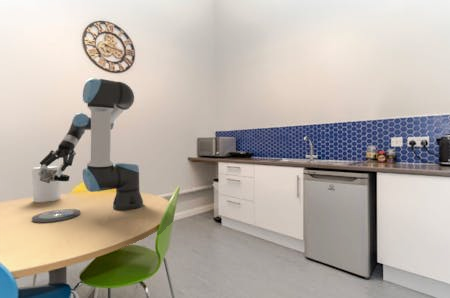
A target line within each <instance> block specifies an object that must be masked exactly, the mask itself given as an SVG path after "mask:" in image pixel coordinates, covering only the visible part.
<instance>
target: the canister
mask: <svg viewBox="0 0 450 298" xmlns="http://www.w3.org/2000/svg"><path fill="white" fill-rule="evenodd" d="M47 167H48V168H47V169H48V170H58V169H59V167H60V165H58V166H57V165H48V166H47ZM40 168H41V166H35V167H32V169H31V175H32V193H33V194H32V195H33V197H32V199H33V202H34V203H45V202H52V201H57V200H60V199H61V185H60V182H61V181H50V183H46V182H43V181H40V177H39V176H38V175H37V173H38V172H39V169H40Z"/></svg>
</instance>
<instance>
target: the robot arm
mask: <svg viewBox="0 0 450 298" xmlns="http://www.w3.org/2000/svg"><path fill="white" fill-rule="evenodd" d="M82 101H83V103H85V104H86V105H87V108H88V109H89V110H90V116H88V115H87V114H85V113H83V112H79V113H76V114H75V115H74V116H73V118H72V121H71V125H70V127H69V130H68V131H67V133H66V135H65V136H64V137H63V139H62V140H61V141H60V143H59V144H58V147H57V148H58V149H56V150H52V149H51V150H50V151H49V153H48V154H47V155H46V156H45V157H44V158H43V159H42V160H41V161H40V162H39V165H41V166H40V167H41V168H40V169H39V172H38V173H37V175H38V176H39V177H41V173H42V169H43V168H44V169H47V168H48V167H47V166H51V164H52V163H54V162H55V161H56V160H59V159H62V161H63V162H62V163H61V165H59V169H58V171H57V172H56V175H57V176H58V177H60V176H61V174H63V172H65V170H66V168H68V167H72V165H73V160H74V158H75V155H76V154H77V153H76V151H75V148H76V146H77V145H78V143H79V141H80V139H81V138H82V137H83V135H84V134H85V132H86V131H90V161H88V163H87V164H86V167H85V168H83V170H82V180H83V184H84V186H85V188H86V190H87V191H88V192H90V193H94V192H98V193H99V192H103V191H109V190H111V191H112V190H115V196H114V198H113V203H112V209H114V210H116V211H128V210H134V209H140V208H141V207H143V206H144V199H143V197H142V195H141V194H142V193H141V192H140V191H141V190H140V169H139V165H138V164H135V163H125V162H124V163H123V162H121V163H120V162H115V164H114V162H112V161H111V132H112V131H111V130H113V129H114V123H115V121H116V120H117V119H118V118H119V116H120V115H121V114H122V113H124V111H125V110H129V109H130V108H131V107H132V106H133V105H134V102H135V93H134V91H133V90H132V88H131V87H130V86H129V85H128V84H126V83H125V82H121V81H115V80H111V79H110V80H109V79H104V78H93V77H91V78H89V79H87V80H86V82H85V84H84V86H83V89H82Z"/></svg>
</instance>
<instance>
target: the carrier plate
mask: <svg viewBox="0 0 450 298" xmlns="http://www.w3.org/2000/svg"><path fill="white" fill-rule="evenodd" d="M80 215H81V210H80V209H76V208H64V209H63V208H62V209H55V210H54V209H53V210H49V211H45V212H41V213H38V214H36V215H34V216H32V217H31V221H32V223H37V224H38V223H39V224H46V223H47V224H49V223H50V224H51V223H56V222H57V223H58V222H63V221H68V220H70V219H73V218H76V217H78V216H80Z"/></svg>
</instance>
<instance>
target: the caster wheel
mask: <svg viewBox="0 0 450 298" xmlns="http://www.w3.org/2000/svg"><path fill="white" fill-rule="evenodd" d="M57 171H58V170H48V169H44V168H43V169H42V173H41V177H40V181H43V182H46V183H50V181H60V182H68V181H70V175H67V174H64V173H62V174H61V176H60V177H58V176H57V175H56V172H57Z"/></svg>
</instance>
